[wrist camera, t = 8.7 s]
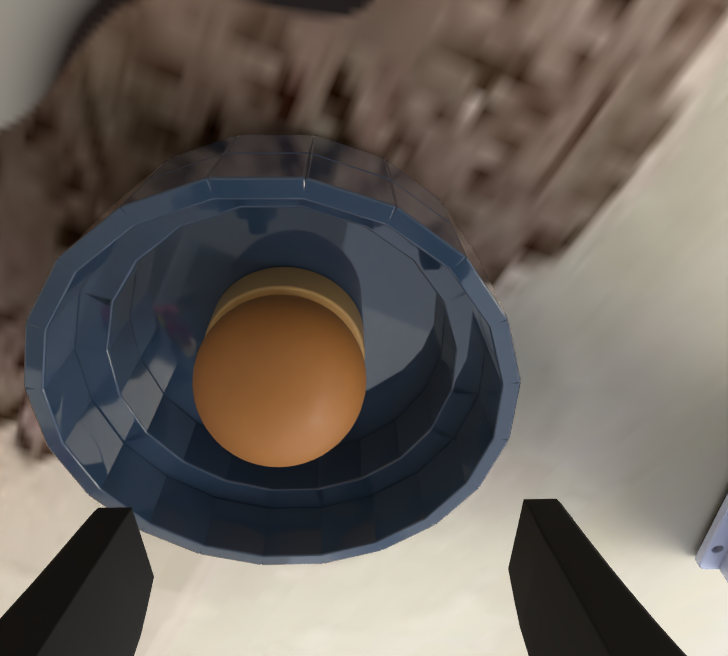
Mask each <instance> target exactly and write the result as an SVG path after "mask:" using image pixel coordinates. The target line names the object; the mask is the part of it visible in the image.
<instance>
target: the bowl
mask: <svg viewBox="0 0 728 656" xmlns="http://www.w3.org/2000/svg"><path fill="white" fill-rule="evenodd" d="M273 267H295V268H300V269H305V270H309V271H312V272H315V273H318V274H320V275H322V276H324V277H326V278H328V279H330V280H331V281H333V282H334V283H336V284H337V285H338V286H339V287H341V288H342V289H343V290H344V291H345V292H346V293H347V294H348V295H349V296H350V298H351V299H352V300H353V302H354V303H355V305H356V307H357V309H358V311H359V313H360V316H361V318H362V323H363V329H364V345H365V368H366V391H365V397H364V401H363V404H362V408H361V411H360V413H359V415H358V417H357V419H356V421H355V423H354V425H353V426H352V428H351V429H350V431H349V432H348V433H347V434H346V436H345V437H344V438H343V439H342V440H341V441H340V442H339V443H338V444H337V445H336V446H335V447H334V448H332V449H331V450H329V451H328V452H326V453H325V454H324V455H322V456H320V457H318V458H316V459H314V460H311V461H309V462H306V463H303V464H299V465H295V466H289V467H268V466H262V465H257V464H253V463H250V462H247V461H245V460H243V459H240V458H239V457H237V456H235V455H233V454H232V453H230V452H229V451H227V450H226V449H225V448H223V447H222V446H221V445H220V444H219V443H218V442H217V441H216V440H215V439H214V438H213V437H212V435H211V434H210V433H209V432H208V430H207V429H206V427H205V426H204V424H203V422H202V420H201V418H200V415H199V413H198V411H197V408H196V404H195V400H194V395H193V386H192V384H193V368H194V364H195V360H196V356H197V353H198V350H199V348H200V346H201V344H202V342H203V340H204V338H205V334H206V330H207V328H208V325H209V323H210V320H211V318H212V315H213V313H214V310H215V308H216V306H217V303H218V302H219V300H220V298H221V297H222V295H223V294H224V293H225V292H226V290H227V289H228V288H229V287H230V286H232V285H233V284H234V283H235V282H237V281H238V280H240V279H241V278H243V277H245V276H247V275H249V274H251V273H253V272H256V271H259V270H263V269H268V268H273ZM24 386H25V391H26V394H27V396H28V399H29V401H30V404H31V406H32V409H33V411H34V414H35V417H36V419H37V422H38V424H39V427H40V429H41V432H42V434H43V437H44V439H45V442H46V445H48V448H49V449H50V450H51V451H52V452H53V454H54V455H55V456H56V457H57V458H58V460H59V461H60V462H61V463H62V464H63V466H64V467H65V468H66V469H67V470H68V471H69V473H70V474H71V475H72V476H73V477H74V479H75V480H76V481H77V482H78V483H79V484H80V486H81V487H82V488H83V489H84V490H85V492H86V493H88V494H89V496H91V497H92V498H93V499H95V500H96V501H98V502H99V503H101V504H102V505H104V506H105V507H107V508H114V507H132V509H133V512H134V516H135V519H136V522H137V525H138V528H139V530H141V531H143V532H145V533H148V534H150V535H153V536H155V537H158V538H160V539H163V540H165V541H168V542H170V543H173V544H175V545H178V546H180V547H183V548H185V549H188V550H190V551H193V552H195V553H200V554H202V555H208V556H213V557H219V558H225V559H230V560H236V561H242V562H247V563H253V564H259V565H261V564H262V565H286V564H322V563H329V562H333V561H337V560H342V559H346V558H351V557H355V556H359V555H364V554H368V553H373V552H377V551H381V550H384V549H386V548H388V547H390V546H392V545H394V544H396V543H399V542H401V541H403V540H405V539H407V538H409V537H411V536H413V535H415V534H417V533H420V532H422V531H424V530H426V529H428V528H430V527H432V526H434V525H435V524H437V523H438V522H439V521H441V520H442V519H443V518H444V517H445V516H447V515H448V514H449V513H450V512H451V511H452V510H454V509H455V508H456V507H457V506H458V505H460V504H461V503H462V502H463V501H464V500H465V499H467V498H468V497H469V496H470V495H471V494H472V493H474V492H475V491H476V490H477V489H478V487H480V486H481V484H482V482H483V481H484V479H485V478H486V476H487V474H488V473H489V471H490V469H491V468H492V466H493V465H494V463H495V461H496V460H497V458H498V457H499V455H500V453H501V452H502V450H503V449H504V447H505V445H506V444H507V442H508V440H509V438H510V433H511V428H512V423H513V418H514V413H515V408H516V403H517V398H518V393H519V388H520V374H519V369H518V365H517V360H516V355H515V350H514V345H513V340H512V335H511V331H510V326H509V321H508V318H507V315H506V313H505V311H504V309H503V307H502V305H501V303H500V301H499V299H498V297H497V295H496V293H495V291H494V289H493V287H492V285H491V283H490V281H489V280H488V277H487V275H486V273H485V271H484V269H483V267H482V265H481V263H480V261H479V259H478V257H477V255H476V253H475V251H474V250H473V248H472V247H471V245H470V244H469V242H468V240H467V239H466V237H465V236H464V234H463V233H462V231H461V230H460V228H459V227H458V225H457V224H456V222H455V221H454V219H453V218H452V216H451V215H450V213H449V212H448V210H447V209H446V207H445V206H444V204H443V203H442V202H441V201H440V199H438V198H437V197H436V196H434V195H433V194H432V193H430V192H429V191H428V190H426V189H425V188H424V187H422V186H421V185H420V184H418V183H417V182H416V181H414V180H413V179H412V178H410V177H409V176H408V175H406V174H405V173H404V172H402V171H401V170H400V169H398V168H397V167H396V166H394V165H393V164H392V163H390V162H389V161H388V160H385V159H384V158H382V157H379V156H376V155H373V154H370V153H367V152H364V151H361V150H358V149H355V148H352V147H349V146H346V145H343V144H340V143H337V142H334V141H331V140H328V139H325V138H322V137H319V136H314V137H313V136H312V135H240V136H232V137H230V138H227V139H224V140H221V141H218V142H215V143H212V144H209V145H206V146H203V147H200V148H198V149H195V150H192V151H189V152H186V153H183V154H180V155H177V156H174V157H171V158H170V159H169V160H167V161H165V162H164V163H162V164H161V165H160V166H159V167H158V168H156V169H155V170H154V171H153V172H152V173H150V174H149V175H148V176H147V177H146V178H144V179H143V180H142V181H141V182H140V183H138V184H137V185H136V186H135V187H134V188H132V189H131V190H130V191H129V192H128V193H126V194H125V195H124V196H123V197H122V198H120V199H119V200H118V201H117V202H116V203H115V204H114V205H113V206H112V207H111V208H110V209H109V210H107V211H106V212H105V213H104V214H103V215H102V216H101V217H100V218H99V219H98V220H97V221H96V222H95V223H94V224H93V225H92V226H90V227H89V228H88V229H87V230H86V231H85V232H84V233H83V234H82V235H81V236H80V237H79V238H78V239H77V240H76V241H75V242H74V243H72V244H71V245H70V246H69V247H68V248H67V249H66V250H65V251H64V252H63V253H62V254H61V255H60V256H59V258H57V259H56V261H55V263H54V265H53V267H52V269H51V271H50V273H49V275H48V277H47V279H46V281H45V283H44V285H43V287H42V289H41V291H40V293H39V295H38V297H37V299H36V301H35V303H34V305H33V307H32V309H31V312H30V314H29V316H28V318H27V320H26V326H25V368H24Z"/></svg>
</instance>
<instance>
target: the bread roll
mask: <svg viewBox="0 0 728 656" xmlns="http://www.w3.org/2000/svg"><path fill="white" fill-rule="evenodd" d="M192 386H193V395H194V400H195V404H196V408H197V411H198V413H199V415H200V418H201V420H202V422H203V424H204V426H205V427H206V429H207V430H208V432H209V433H210V434H211V435H212V437H213V438H214V439H215V440H216V441H217V442H218V443H219V444H220V445H221V446H222V447H223V448H225V449H226V450H227V451H229V452H230V453H232V454H233V455H235V456H237V457H239V458H240V459H243V460H245V461H247V462H250V463H253V464H257V465H262V466H268V467H289V466H295V465H299V464H303V463H306V462H309V461H311V460H314V459H316V458H318V457H320V456H322V455H324V454H325V453H326V452H328V451H329V450H331V449H332V448H334V447H335V446H336V445H337V444H338V443H339V442H340V441H341V440H342V439H343V438H344V437H345V436H346V434H347V433H348V432H349V431H350V429H351V428H352V426H353V425H354V423H355V421H356V419H357V417H358V415H359V413H360V411H361V408H362V404H363V401H364V397H365V391H366V368H365V345H364V329H363V323H362V318H361V316H360V313H359V311H358V309H357V307H356V305H355V303H354V302H353V300H352V299H351V298H350V296H349V295H348V294H347V293H346V292H345V291H344V290H343V289H342V288H341V287H339V286H338V285H337V284H336V283H334V282H333V281H331V280H330V279H328V278H326V277H324V276H322V275H320V274H318V273H315V272H312V271H309V270H305V269H300V268H295V267H273V268H268V269H263V270H259V271H256V272H253V273H251V274H249V275H247V276H245V277H243V278H241V279H240V280H238V281H237V282H235V283H234V284H233V285H232V286H230V287H229V288H228V289H227V290H226V292H225V293H224V294H223V295H222V297H221V298H220V300H219V302H218V303H217V306H216V308H215V310H214V313H213V315H212V318H211V320H210V323H209V325H208V328H207V330H206V334H205V338H204V340H203V342H202V344H201V346H200V348H199V350H198V353H197V356H196V360H195V364H194V368H193V384H192Z"/></svg>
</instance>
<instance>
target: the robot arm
mask: <svg viewBox="0 0 728 656" xmlns="http://www.w3.org/2000/svg"><path fill="white" fill-rule="evenodd" d="M695 560H696V562H697V564H698V565H699V567H700V568H702V569H719V570H720V571H721V573H722V574H723V576H724V577H725V579H726V580H727V582H728V494H727V496H726V498H725V500H724V502H723V504H722V506H721V507H720V509H719V511H718V513H717V515H716V517H715V519H714V521H713V523H712V525H711V527H710V529H709V531H708V533H707V535H706V537H705V539H704V541H703V543H702V545H701V547H700V549H699V551H698V553H697V555H696V557H695ZM508 570H509V575H510V580H511V585H512V591H513V596H514V601H515V606H516V610H517V615H518V620H519V625H520V628H521V632H522V635H523V638H524V642H525V645H526V648H527V651H528V655H529V656H687V655H686V654H685V653H684V652H683V651H682V650H681V649H680V648H679V647H678V646H677V645H676V644H675V642H674V641H673V640H672V639H671V638H670V637H669V636H668V635H667V633H666V632H665V631H664V630H663V629H662V628H661V627H660V626H659V624H658V623H657V622H656V621H655V620H654V619H653V618H652V616H651V615H650V614H649V613H648V612H647V610H646V609H645V608H644V607H643V606H642V605H641V603H640V602H639V601H638V600H637V599H636V597H635V596H634V595H633V594H632V593H631V592H630V590H629V589H628V588H627V587H626V586H625V584H624V583H623V582H622V581H621V580H620V578H619V577H618V576H617V575H616V573H615V572H614V571H613V570H612V568H611V567H610V566H609V565H608V563H607V562H606V561H605V560H604V558H603V557H602V556H601V555H600V553H599V552H598V551H597V550H596V548H595V547H594V546H593V544H592V543H591V542H590V541H589V539H588V538H587V537H586V535H585V534H584V533H583V532H582V530H581V529H580V528H579V526H578V525H577V524H576V522H575V521H574V520H573V518H572V517H571V516H570V514H569V513H568V512H567V510H566V509H565V508H564V507H563V505H562V504H561V503H560V502H559V501H558V500H557V499H524V501H523V505H522V510H521V514H520V519H519V523H518V528H517V532H516V537H515V541H514V545H513V550H512V554H511V559H510V563H509V568H508ZM153 579H154V576H153V572H152V569H151V566H150V563H149V560H148V557H147V553H146V550H145V547H144V544H143V541H142V538H141V535H140V531H139V528H138V525H137V522H136V519H135V516H134V512H133V509H132V507H114V508H98V509H96V510H95V511H94V512H93V513H92V515H91V516H90V517H89V518H88V519H87V520H86V521H85V523H84V524H83V525H82V526H81V527H80V528H79V530H78V531H77V532H76V533H75V534H74V535H73V537H72V538H71V539H70V540H69V541H68V542H67V544H66V545H65V546H64V547H63V548H62V549H61V551H60V552H59V553H58V554H57V555H56V556H55V558H54V559H53V560H52V561H51V562H50V563H49V564H48V566H47V567H46V568H45V569H44V570H43V571H42V572H41V574H40V575H39V576H38V577H37V578H36V579H35V580H34V582H33V583H32V584H31V585H30V586H29V587H28V588H27V589H26V591H25V592H24V593H23V594H22V595H21V596H20V597H19V598H18V599H17V600H16V602H15V603H14V604H13V605H12V606H11V607H10V608H9V609H8V610H7V612H6V613H5V614H4V615H3V616H2V617H1V618H0V656H134V654H135V651H136V648H137V645H138V642H139V639H140V636H141V632H142V628H143V623H144V619H145V615H146V611H147V606H148V602H149V597H150V592H151V588H152V583H153Z"/></svg>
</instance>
